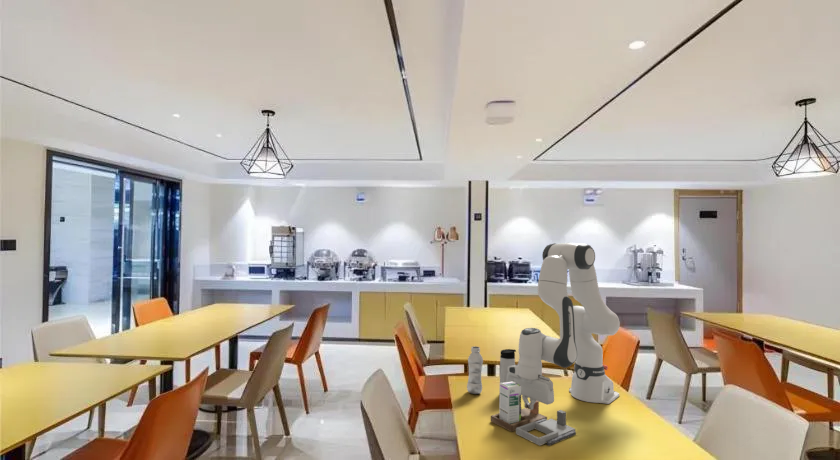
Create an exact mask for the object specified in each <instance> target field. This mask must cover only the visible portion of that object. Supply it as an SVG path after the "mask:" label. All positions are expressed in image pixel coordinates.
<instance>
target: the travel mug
mask: <svg viewBox="0 0 840 460" xmlns="http://www.w3.org/2000/svg"><path fill="white" fill-rule="evenodd" d="M516 353H517V351H516V349H514V348H513V349H511V348H509V349H507V348H506V349H502V350H500V357H499V358H500V361H499V384H500V383H504V382H506V380H507V374H508V373H509V372H508V367H509V366H513V365H516V360H515V359H516Z"/></svg>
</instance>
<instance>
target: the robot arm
mask: <svg viewBox="0 0 840 460" xmlns="http://www.w3.org/2000/svg"><path fill="white" fill-rule="evenodd" d="M541 258H542V262H541V263H542V264H541V266H540V267H541V268H540V271H539V276H538V282H537V295H538V297H539V298H540V299H541V301H542V302H543V303H544V304H545V305H547V306H549V307H551V309H553V310H554V311H555V312H556V314H557V316H558V318H559V338H557V337H554V336H550V335H546V334H545V333H543V332H542V331H541V329H539V328H537V327H527V328H523V329H522V330H521V331H520V334H519V339H518V356H519V357H518V361H517V362H518V363H517V364H515V365H513V366H509V367H508V372H509V373H508V374H507V380H506V382H511V381H513V382H515V383H517V384H519V385H521V400H522V401H523V404H524V408H527V409H529V410H533V407H534V404H535V402H536V401H539V403H542V404H545V405H551V404H553V403H554V402H555V393H554V382H553V381H552V379H550V377H546V376H544V375H543V371H542V369H543V364H542V362H543V361H544V362H547V363H551V364H554V365H556V366H559V367H561V368H565V369H566V368H568V367H571V366H572V365H574V366H573V367H574V368H573V371H574V372H573V373H572V377H571V383H570V384H571V386H570V388H569V389H568V392H570V394H571V397H573V398H575V399H577V400H580V401H582V402H588V403H595V404H596V403H597V404H599V403H600V404H606V405H609V404H612V402H613V401H615V400H616V399H618V398H619V397H620V393H619V392H618V391H615V390H614V382H613V380H611V378H610V377H608V376H607V375H606V372H605V371H608V369H609V366H608V365H606V364H603V363H604V362H603V360H604V359H603V353H604V352H603V351H604V350H603V346H601V344H600V343H598V341H597V340H595V338H594V336H593V335H598V336H614V335H616V334H617V333H618V331H619V330H620V326H621V322H620V319H619V316H618V315H617V313H615V312H614V311H612V310H611V309H610V308H609V306H607V304H606V303H605V301H604V299H603V297H602V296H601V292H600V287H599V284H598V283H599V282H598V277H597V272H596V267H595V260H596V252H595V250H594V248H593V247H592V245H589V244H588V243H587V244H586V243H584V242H583V243H577V242H563V243H561V242H560V243H555V242H554V243H549V244H547V245H546V246H545V247H544V249H543V251H542V257H541ZM568 275H569V283H570V290H571V295H572V297H573V298H574V300H575V301H577V302H578V303H579V304H580V305H574V303H573V300H572V299H571V298H570V297H569V295H568V290H567V289H568V287H567V286H568V285H567V284H568ZM528 398H529V399H528ZM530 401H531V402H530Z"/></svg>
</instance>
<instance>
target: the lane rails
mask: <svg viewBox="0 0 840 460" xmlns="http://www.w3.org/2000/svg"><path fill="white" fill-rule="evenodd" d="M546 420H548V418H547V419H542V420H539V421H536V423H541V422H544V421H546ZM576 434H577V432H576V430H575V431H571V432H569V433H566V434H564V435H561V436H559V437H557V438H554V439H552V440H549V441H547V443H545V444H546V446H548V447H550V446H553V445H554V444H557V443H560V442H561V441H564V440H567V439H569V438H571V437H574V436H576Z"/></svg>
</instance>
